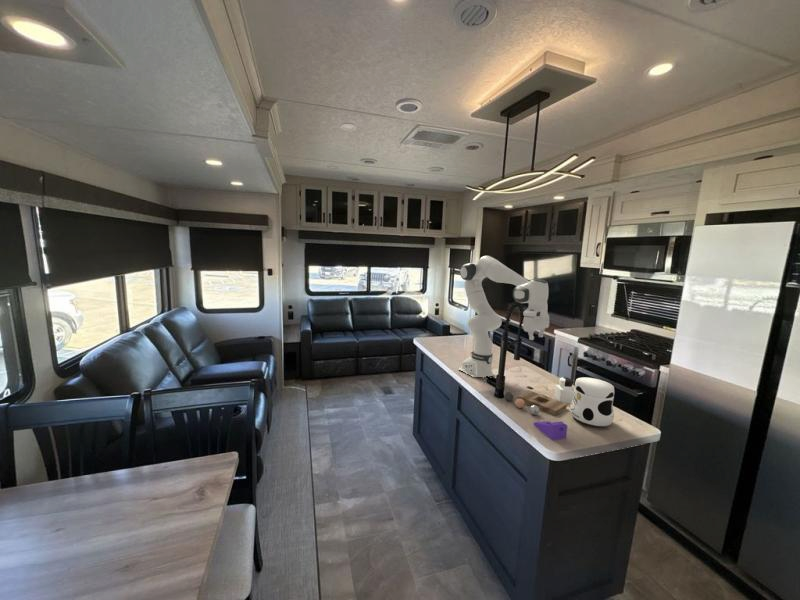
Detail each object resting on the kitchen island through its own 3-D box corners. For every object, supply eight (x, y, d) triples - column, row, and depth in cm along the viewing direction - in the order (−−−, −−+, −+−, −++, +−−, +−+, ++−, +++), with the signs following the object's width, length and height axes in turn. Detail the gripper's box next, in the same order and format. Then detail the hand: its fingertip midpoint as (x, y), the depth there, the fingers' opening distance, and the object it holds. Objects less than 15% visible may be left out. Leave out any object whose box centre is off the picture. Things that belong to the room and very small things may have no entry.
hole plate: (516, 400, 167) (517, 396, 166) (528, 394, 174) (529, 390, 174) (555, 415, 152) (555, 410, 151) (566, 408, 159) (566, 403, 159)
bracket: (565, 439, 133) (567, 423, 132) (551, 440, 131) (553, 425, 130) (546, 424, 145) (548, 410, 144) (533, 425, 143) (534, 411, 142)
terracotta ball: (513, 407, 159) (513, 398, 159) (517, 404, 162) (518, 396, 162) (521, 410, 156) (522, 401, 155) (526, 407, 159) (526, 399, 158)
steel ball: (527, 413, 153) (527, 405, 152) (531, 411, 156) (532, 402, 155) (536, 417, 149) (536, 408, 149) (540, 414, 152) (541, 406, 152)
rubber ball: (502, 399, 167) (503, 391, 167) (507, 397, 170) (507, 389, 170) (510, 402, 164) (510, 394, 163) (514, 400, 167) (515, 392, 166)
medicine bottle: (568, 397, 172) (570, 376, 170) (574, 403, 165) (576, 381, 163) (554, 396, 173) (556, 375, 171) (559, 402, 166) (561, 380, 164)
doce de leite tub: (561, 411, 156) (565, 376, 153) (594, 411, 158) (598, 376, 155) (585, 431, 139) (589, 392, 136) (621, 430, 140) (627, 391, 138)
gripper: (541, 308, 169) (539, 334, 170) (521, 312, 156) (520, 340, 157) (553, 310, 164) (551, 336, 166) (533, 314, 151) (532, 342, 152)
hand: (536, 338), depth 161 cm, fingers open, 8 cm apart
